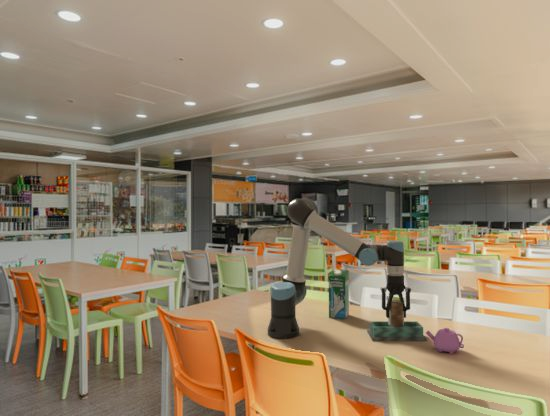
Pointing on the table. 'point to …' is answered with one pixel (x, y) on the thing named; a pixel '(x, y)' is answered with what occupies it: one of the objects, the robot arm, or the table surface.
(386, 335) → the green tray
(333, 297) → the milk carton
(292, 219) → the robot arm
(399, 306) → the walnut block
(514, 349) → the table surface
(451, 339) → the teapot
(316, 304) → the table surface
